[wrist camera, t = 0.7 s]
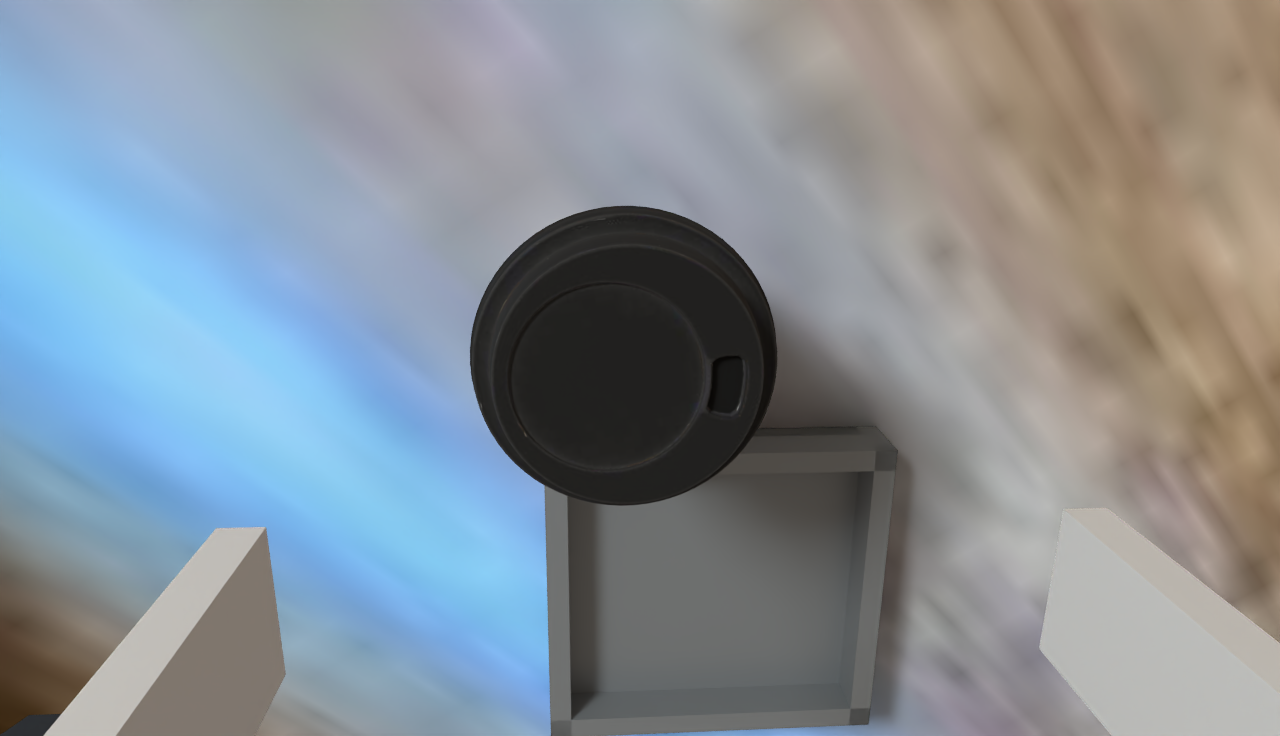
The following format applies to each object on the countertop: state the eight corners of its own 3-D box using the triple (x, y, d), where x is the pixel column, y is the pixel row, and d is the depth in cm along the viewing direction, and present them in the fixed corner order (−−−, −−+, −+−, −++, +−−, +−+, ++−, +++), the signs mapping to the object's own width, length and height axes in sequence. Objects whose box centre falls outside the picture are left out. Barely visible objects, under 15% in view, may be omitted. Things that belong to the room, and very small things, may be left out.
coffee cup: (742, 328, 40) (834, 457, 26) (556, 406, 41) (546, 574, 26) (666, 134, 37) (723, 159, 23) (467, 220, 38) (402, 296, 24)
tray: (552, 697, 46) (551, 737, 43) (545, 432, 41) (543, 457, 38) (850, 685, 47) (868, 724, 44) (875, 426, 42) (897, 450, 39)
